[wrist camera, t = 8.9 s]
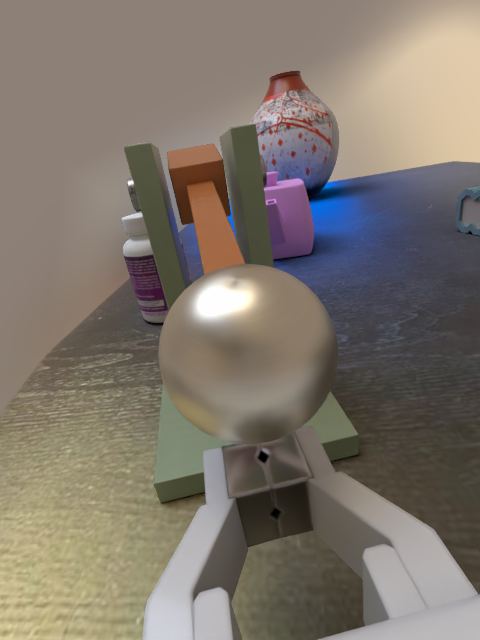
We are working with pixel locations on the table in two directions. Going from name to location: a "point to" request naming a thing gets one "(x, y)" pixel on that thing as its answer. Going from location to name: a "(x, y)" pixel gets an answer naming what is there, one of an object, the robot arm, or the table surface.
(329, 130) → the vase
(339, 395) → the table surface
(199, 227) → the lever
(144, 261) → the pill bottle
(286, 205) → the teapot
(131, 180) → the bracket
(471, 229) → the book
